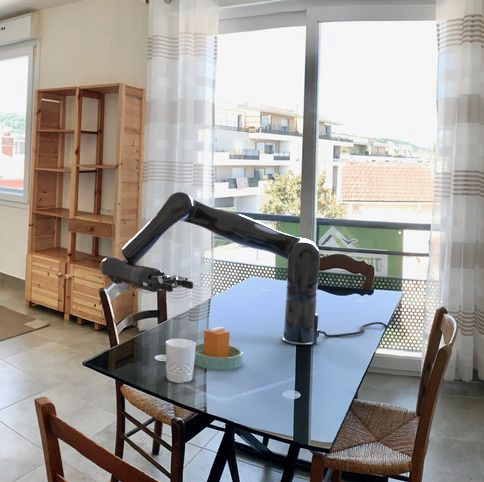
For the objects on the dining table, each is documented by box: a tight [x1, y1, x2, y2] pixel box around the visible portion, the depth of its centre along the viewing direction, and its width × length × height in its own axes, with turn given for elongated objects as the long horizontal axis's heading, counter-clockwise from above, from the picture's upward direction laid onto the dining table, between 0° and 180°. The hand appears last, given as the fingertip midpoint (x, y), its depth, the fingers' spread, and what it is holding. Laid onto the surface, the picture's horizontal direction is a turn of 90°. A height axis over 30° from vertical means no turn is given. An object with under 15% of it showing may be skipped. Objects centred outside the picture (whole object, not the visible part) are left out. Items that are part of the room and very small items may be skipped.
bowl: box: [194, 342, 243, 371], centre depth 178 cm, size 14×14×4 cm
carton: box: [203, 326, 230, 357], centre depth 178 cm, size 5×5×10 cm
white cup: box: [165, 338, 197, 384], centre depth 165 cm, size 8×8×10 cm
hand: (182, 287), depth 188 cm, fingers open, 8 cm apart
